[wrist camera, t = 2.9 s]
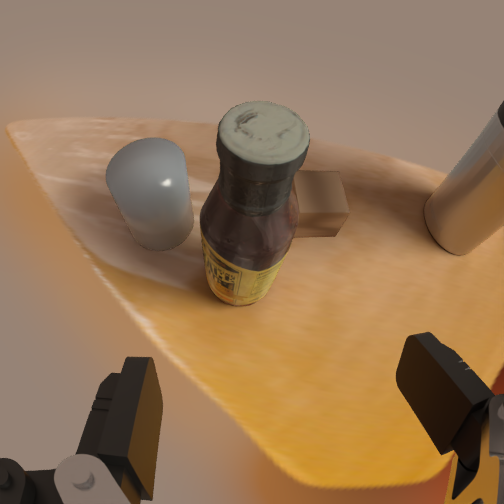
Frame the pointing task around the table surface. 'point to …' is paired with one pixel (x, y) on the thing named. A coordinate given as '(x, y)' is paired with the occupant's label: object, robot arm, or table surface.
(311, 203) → the walnut block
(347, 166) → the table surface
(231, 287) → the sauce bottle
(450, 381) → the robot arm
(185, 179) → the grey rounded cylinder
